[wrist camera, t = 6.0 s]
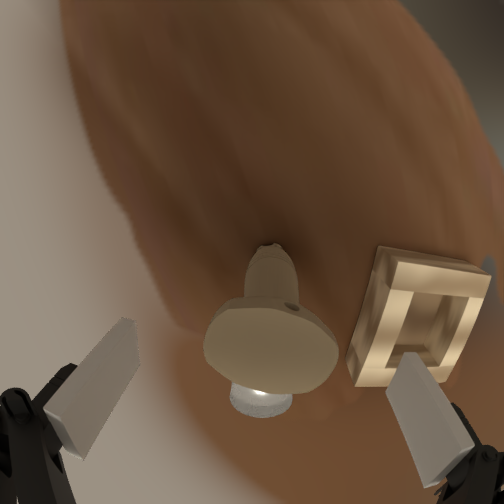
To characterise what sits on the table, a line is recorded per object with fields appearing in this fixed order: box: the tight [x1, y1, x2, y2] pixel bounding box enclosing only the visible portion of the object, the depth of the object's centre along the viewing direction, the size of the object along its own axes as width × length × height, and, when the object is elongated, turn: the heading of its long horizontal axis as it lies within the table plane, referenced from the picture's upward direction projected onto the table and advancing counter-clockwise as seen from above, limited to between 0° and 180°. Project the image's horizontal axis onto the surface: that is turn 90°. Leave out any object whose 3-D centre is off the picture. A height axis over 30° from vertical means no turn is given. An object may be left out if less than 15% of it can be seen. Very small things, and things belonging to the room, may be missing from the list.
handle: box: [203, 243, 339, 394], centre depth 20 cm, size 5×6×15 cm
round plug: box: [230, 382, 292, 418], centre depth 28 cm, size 6×6×6 cm
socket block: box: [345, 245, 491, 387], centre depth 25 cm, size 14×12×5 cm
